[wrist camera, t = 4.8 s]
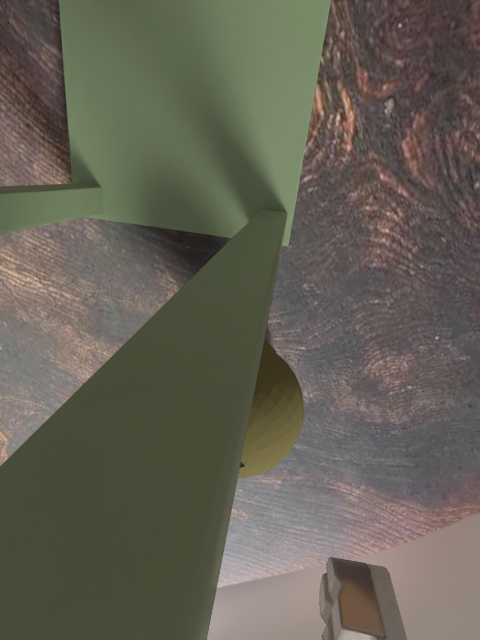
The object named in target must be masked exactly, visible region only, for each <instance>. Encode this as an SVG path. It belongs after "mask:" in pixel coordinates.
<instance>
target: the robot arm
mask: <svg viewBox="0 0 480 640" xmlns="http://www.w3.org/2000/svg"><path fill="white" fill-rule="evenodd" d="M326 567H327V573H325V574H323V576H322V580H321V584H320V595H319V597H320V615H321V617H322V619H323V620H324V622H325V623H326V626H325V629H324V632H323V635H322V639H323V640H407V637H406V633H405V630H404V626H403V622H402V618H401V615H400V611H399V607H398V604H397V600H396V596H395V593H394V589H393V585H392V582H391V578H390V574H389V572H388V570H387V569H386V568H385V567H382V566H376V565H370V564H366V563H362V562H356V561H350V560H344V559H339V558H333V557H330V558H329V559H328V561H327V564H326Z"/></svg>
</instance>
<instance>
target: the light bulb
mask: <svg viewBox="0 0 480 640" xmlns="http://www.w3.org/2000/svg"><path fill="white" fill-rule="evenodd" d="M273 347H274V340H273V336H272V334H271V333H270V331H269V330H268V329H267V328H266V333H265V338H264V344H263V349H262V354H261V359H260V365H259V370H258V375H257V380H256V385H255V391H254V396H253V401H252V406H251V411H250V417H249V422H248V427H247V432H246V437H245V443H244V448H243V453H242V458H241V463H240V469H239V474H238V478H246V477H251V476H255V475H258V474H261V473H264V472H266V471H268V470H270V469H272V468H273V467H275V466H276V465H277V464H279V463H280V462H281V461H282V460H283V459H284V458H285V457H286V456H287V455H288V454H289V453H290V451H291V450H292V448H293V446H294V444H295V443H296V441H297V439H298V437H299V434H300V431H301V428H302V423H303V417H304V405H303V395H302V391H301V388H300V385H299V382H298V380H297V378H296V376H295V374H294V372H293V371H292V369H291V368H290V367H289V365H288V364H287V363H286V362H285V361H284V360H283V359H282V358H281V357H280V356H279V355H278V354H277V353H276V351H275V350H274V348H273Z"/></svg>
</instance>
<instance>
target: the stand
mask: <svg viewBox="0 0 480 640" xmlns="http://www.w3.org/2000/svg"><path fill="white" fill-rule="evenodd" d="M330 3H331V0H59V13H60V27H61V40H62V53H63V67H64V80H65V94H66V107H67V121H68V134H69V147H70V161H71V174H72V184H56V185H29V186H3V187H0V234H2V233H7V232H12V231H17V230H22V229H27V228H32V227H37V226H42V225H47V224H52V223H57V222H62V221H68V220H73V219H78V218H83V217H90V218H97V219H104V220H111V221H117V222H124V223H131V224H138V225H145V226H151V227H158V228H165V229H172V230H179V231H185V232H192V233H199V234H206V235H213V236H219V237H226V238H232V239H231V240H230V241H229V242H228V243H227V244H226V245H225V246H224V247H223V248H222V249H221V250H220V251H219V252H218V253H217V254H216V255H214V256H213V257H212V258H211V259H210V260H209V261H208V262H207V263H206V264H205V265H204V266H203V267H202V268H201V269H200V270H199V271H198V272H197V273H196V274H195V275H194V276H193V277H192V278H191V279H190V280H189V281H188V282H187V283H186V284H185V285H184V286H183V287H182V288H181V289H180V290H179V291H178V292H177V293H176V294H175V295H174V296H173V297H172V298H171V299H170V300H169V301H168V302H167V303H166V304H165V305H164V306H163V307H162V308H161V309H160V310H159V311H158V312H157V313H156V314H155V315H154V316H153V317H152V318H150V319H149V320H148V321H147V322H146V323H145V324H144V325H143V326H142V327H141V328H140V329H139V330H138V331H137V332H136V333H135V334H134V335H133V336H132V337H131V338H130V339H129V340H128V341H127V342H126V343H125V344H124V345H123V346H122V347H121V348H120V349H119V350H118V351H117V352H116V353H115V354H114V355H113V356H112V357H111V358H110V359H109V360H108V361H107V362H106V363H105V364H104V365H103V366H102V367H101V368H100V369H99V370H98V371H97V372H96V373H95V374H94V375H93V376H92V377H91V378H90V379H89V380H88V381H86V382H85V383H84V384H83V385H82V386H81V387H80V388H79V389H78V390H77V391H76V392H75V393H74V394H73V395H72V396H71V397H70V398H69V399H68V400H67V401H66V402H65V403H64V404H63V405H62V406H61V407H60V408H59V409H58V410H57V411H56V412H55V413H54V414H53V415H52V416H51V417H50V418H49V419H48V420H47V421H46V422H45V423H44V424H43V425H42V426H41V427H40V428H39V429H38V430H37V431H36V432H35V433H34V434H33V435H32V436H31V437H30V438H29V439H28V440H27V441H26V442H25V443H24V444H22V445H21V446H20V447H19V448H18V449H17V450H16V451H15V452H14V453H13V454H12V455H11V456H10V457H9V458H8V459H7V460H6V461H5V462H4V463H3V464H2V465H1V466H0V640H207V635H208V630H209V625H210V619H211V614H212V609H213V604H214V599H215V594H216V588H217V583H218V578H219V573H220V568H221V562H222V557H223V552H224V547H225V542H226V536H227V531H228V526H229V521H230V516H231V510H232V505H233V500H234V495H235V489H236V484H237V479H238V474H239V469H240V463H241V458H242V453H243V448H244V443H245V437H246V432H247V427H248V422H249V417H250V411H251V406H252V401H253V396H254V391H255V385H256V380H257V375H258V370H259V365H260V359H261V354H262V349H263V344H264V338H265V333H266V328H267V323H268V318H269V312H270V307H271V302H272V297H273V292H274V286H275V281H276V276H277V271H278V266H279V260H280V255H281V250H282V246H288V245H289V239H290V233H291V227H292V222H293V216H294V210H295V204H296V198H297V193H298V187H299V181H300V175H301V170H302V164H303V158H304V152H305V147H306V141H307V135H308V129H309V124H310V118H311V112H312V106H313V101H314V95H315V89H316V83H317V77H318V72H319V66H320V60H321V54H322V49H323V43H324V37H325V31H326V26H327V20H328V14H329V8H330Z"/></svg>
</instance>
